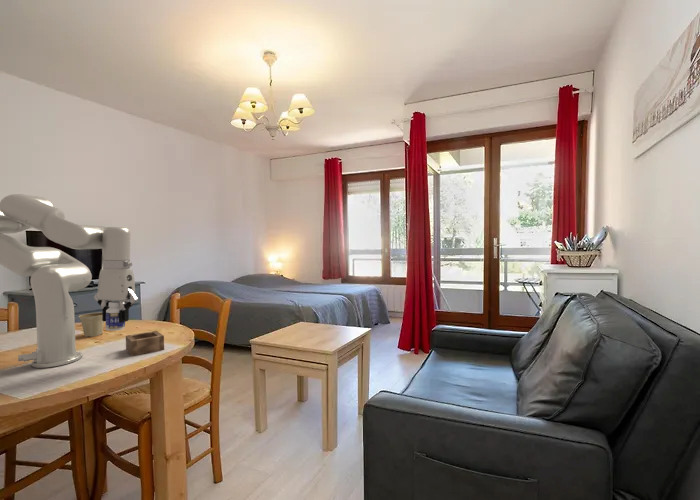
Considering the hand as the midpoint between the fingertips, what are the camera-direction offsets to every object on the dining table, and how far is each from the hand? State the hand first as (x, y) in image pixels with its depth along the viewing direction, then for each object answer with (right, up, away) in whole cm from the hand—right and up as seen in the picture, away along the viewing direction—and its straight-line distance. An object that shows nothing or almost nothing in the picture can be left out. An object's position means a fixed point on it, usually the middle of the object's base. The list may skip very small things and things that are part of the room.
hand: (115, 320), depth 114 cm
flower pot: (-31, -13, +33) cm, 47 cm away
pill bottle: (0, -3, 0) cm, 3 cm away
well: (+2, -13, +12) cm, 18 cm away
